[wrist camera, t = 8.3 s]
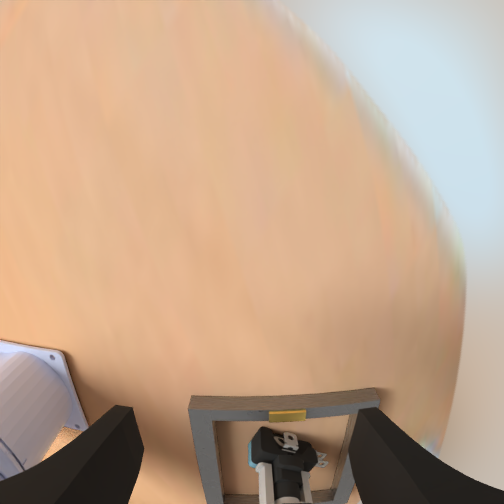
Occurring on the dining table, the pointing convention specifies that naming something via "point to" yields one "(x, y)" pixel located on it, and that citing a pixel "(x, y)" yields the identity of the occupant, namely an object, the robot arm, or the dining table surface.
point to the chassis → (273, 410)
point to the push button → (283, 467)
